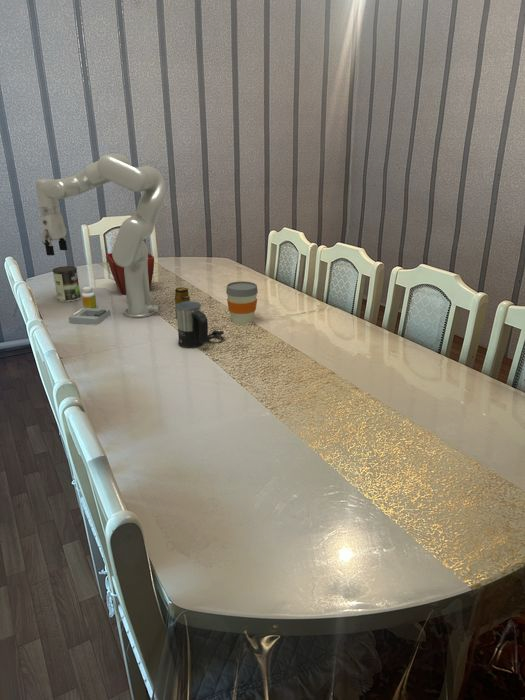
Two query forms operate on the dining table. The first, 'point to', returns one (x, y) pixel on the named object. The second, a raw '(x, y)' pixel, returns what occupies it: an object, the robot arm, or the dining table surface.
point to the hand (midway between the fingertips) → (57, 252)
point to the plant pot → (119, 272)
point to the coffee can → (66, 283)
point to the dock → (89, 315)
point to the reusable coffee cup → (242, 301)
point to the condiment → (181, 297)
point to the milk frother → (193, 325)
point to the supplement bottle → (88, 298)
